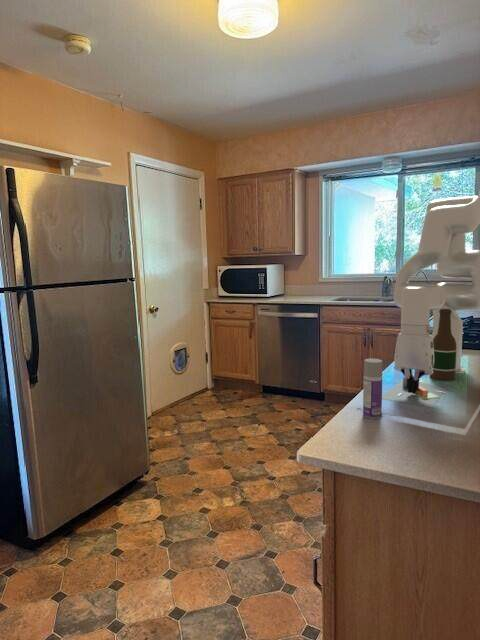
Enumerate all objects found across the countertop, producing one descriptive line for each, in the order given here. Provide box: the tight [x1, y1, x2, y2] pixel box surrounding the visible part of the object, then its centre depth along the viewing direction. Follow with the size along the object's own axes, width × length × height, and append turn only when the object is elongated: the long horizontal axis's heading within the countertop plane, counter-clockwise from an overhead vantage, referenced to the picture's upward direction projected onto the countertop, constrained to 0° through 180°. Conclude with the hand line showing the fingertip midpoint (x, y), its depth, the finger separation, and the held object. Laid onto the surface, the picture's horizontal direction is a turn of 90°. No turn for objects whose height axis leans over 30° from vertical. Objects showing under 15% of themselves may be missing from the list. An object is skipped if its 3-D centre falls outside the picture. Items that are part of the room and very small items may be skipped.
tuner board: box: [382, 379, 450, 408], centre depth 128 cm, size 22×14×1 cm, turn 143°
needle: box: [402, 375, 428, 397], centre depth 129 cm, size 12×4×3 cm, turn 4°
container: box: [362, 357, 383, 420], centre depth 113 cm, size 5×5×15 cm
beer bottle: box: [429, 309, 457, 382], centre depth 140 cm, size 8×8×24 cm
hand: (412, 391), depth 125 cm, fingers closed
